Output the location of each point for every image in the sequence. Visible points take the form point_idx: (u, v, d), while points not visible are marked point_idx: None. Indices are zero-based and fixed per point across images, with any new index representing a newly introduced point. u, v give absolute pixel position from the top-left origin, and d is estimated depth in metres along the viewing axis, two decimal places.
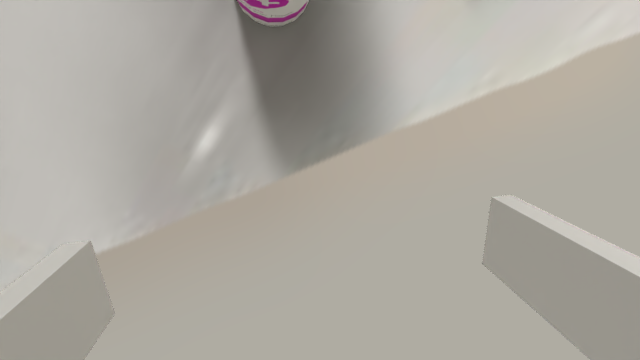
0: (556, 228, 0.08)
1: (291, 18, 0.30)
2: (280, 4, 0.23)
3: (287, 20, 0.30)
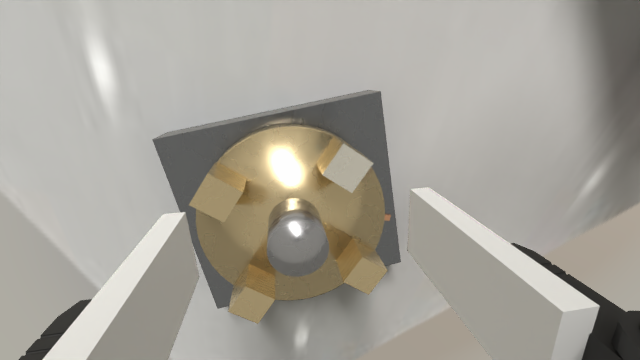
0: (448, 214, 0.09)
1: None
2: None
3: None
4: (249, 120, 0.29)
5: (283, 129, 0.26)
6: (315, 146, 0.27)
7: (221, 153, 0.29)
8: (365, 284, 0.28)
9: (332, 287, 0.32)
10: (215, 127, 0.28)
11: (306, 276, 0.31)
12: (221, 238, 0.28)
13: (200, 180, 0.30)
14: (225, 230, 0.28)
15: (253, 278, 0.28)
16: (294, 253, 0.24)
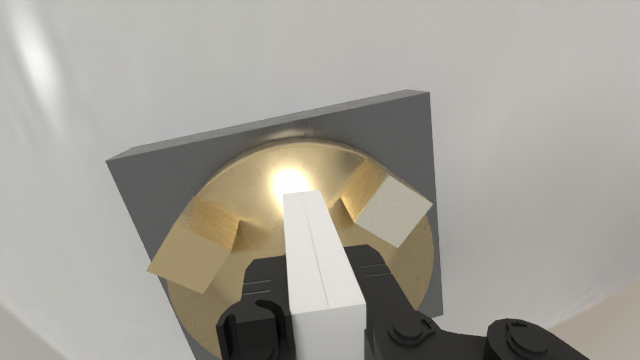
0: (312, 216, 0.10)
1: None
2: None
3: None
4: (244, 133, 0.20)
5: (293, 149, 0.18)
6: (340, 173, 0.18)
7: (205, 179, 0.21)
8: None
9: None
10: (195, 143, 0.20)
11: None
12: (204, 300, 0.20)
13: (175, 215, 0.21)
14: (209, 290, 0.20)
15: None
16: None
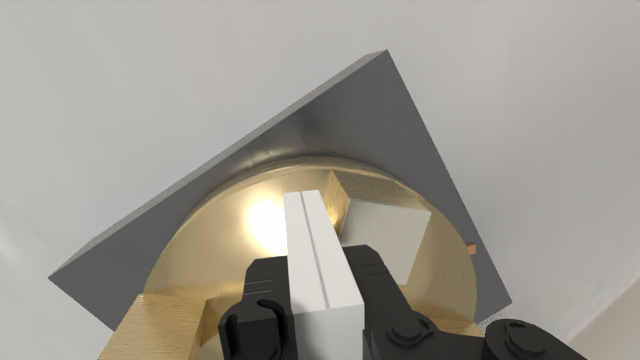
0: (311, 216, 0.10)
1: None
2: None
3: None
4: (181, 190, 0.16)
5: (230, 196, 0.13)
6: None
7: None
8: None
9: None
10: (133, 222, 0.16)
11: None
12: None
13: None
14: None
15: None
16: None
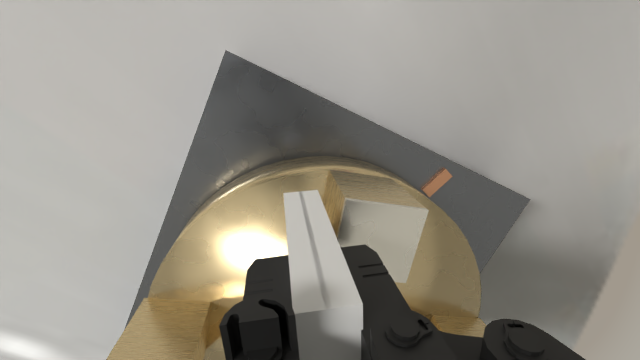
0: (310, 217, 0.10)
1: None
2: None
3: None
4: (148, 270, 0.17)
5: (230, 199, 0.13)
6: None
7: None
8: None
9: None
10: (132, 313, 0.18)
11: None
12: None
13: None
14: None
15: None
16: None
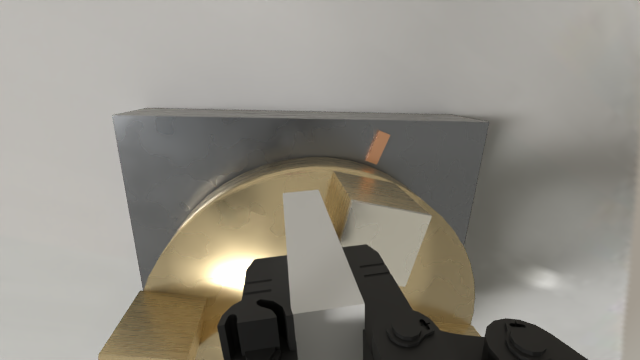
0: (311, 216, 0.10)
1: None
2: None
3: None
4: None
5: (233, 195, 0.13)
6: None
7: None
8: None
9: None
10: None
11: None
12: None
13: None
14: None
15: None
16: None
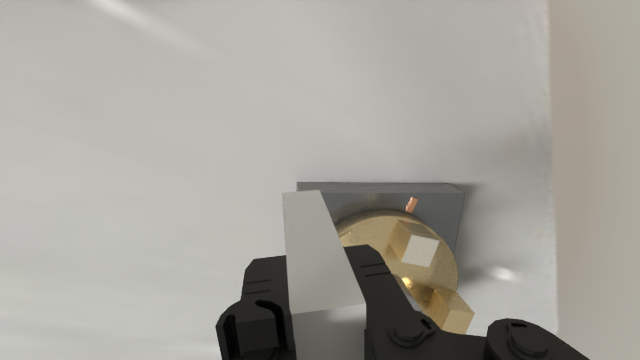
0: (312, 216, 0.10)
1: None
2: None
3: None
4: None
5: (356, 228, 0.32)
6: (385, 232, 0.33)
7: None
8: (459, 328, 0.33)
9: None
10: None
11: None
12: None
13: None
14: None
15: None
16: None
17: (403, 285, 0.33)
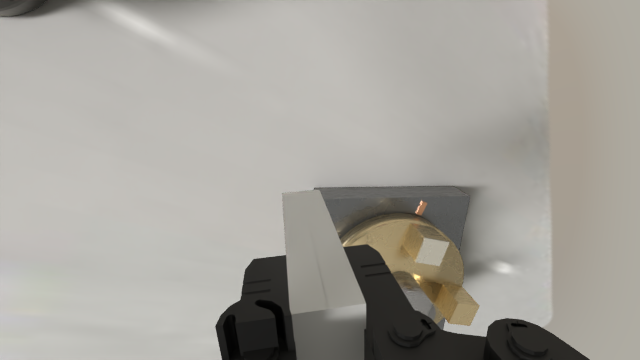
0: (312, 216, 0.10)
1: None
2: None
3: None
4: None
5: (373, 231, 0.35)
6: (399, 234, 0.36)
7: None
8: (465, 319, 0.37)
9: (436, 321, 0.41)
10: None
11: None
12: None
13: None
14: None
15: None
16: None
17: (415, 282, 0.36)
